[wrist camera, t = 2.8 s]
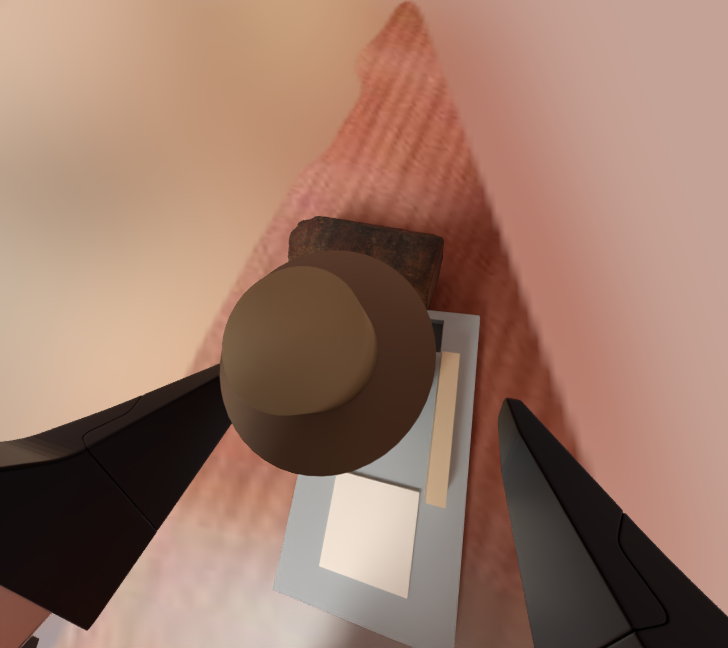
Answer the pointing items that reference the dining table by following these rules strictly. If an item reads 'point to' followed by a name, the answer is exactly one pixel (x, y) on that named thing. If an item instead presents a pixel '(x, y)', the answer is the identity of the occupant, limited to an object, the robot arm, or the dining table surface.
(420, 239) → the brick
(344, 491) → the board
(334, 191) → the dining table surface
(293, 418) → the pepper mill
